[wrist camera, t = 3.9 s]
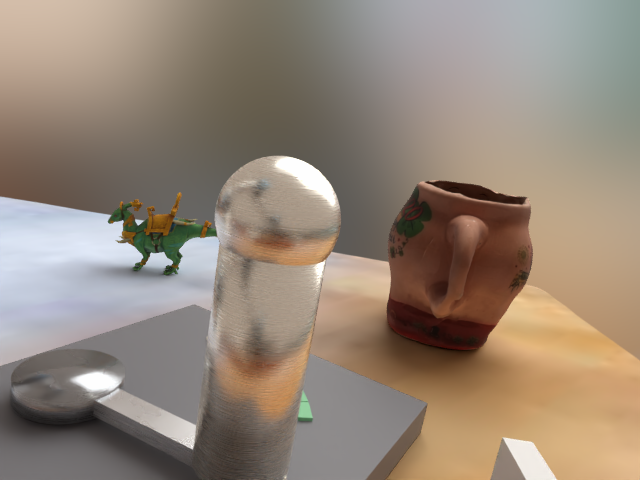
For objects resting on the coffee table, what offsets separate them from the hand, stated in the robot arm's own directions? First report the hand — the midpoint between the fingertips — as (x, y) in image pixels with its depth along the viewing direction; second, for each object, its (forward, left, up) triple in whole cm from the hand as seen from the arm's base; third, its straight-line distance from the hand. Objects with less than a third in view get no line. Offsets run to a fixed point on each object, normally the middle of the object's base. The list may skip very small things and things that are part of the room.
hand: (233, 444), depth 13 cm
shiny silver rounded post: (-9, +6, -7) cm, 13 cm away
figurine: (-30, +28, -10) cm, 42 cm away
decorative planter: (-4, +36, -10) cm, 37 cm away
